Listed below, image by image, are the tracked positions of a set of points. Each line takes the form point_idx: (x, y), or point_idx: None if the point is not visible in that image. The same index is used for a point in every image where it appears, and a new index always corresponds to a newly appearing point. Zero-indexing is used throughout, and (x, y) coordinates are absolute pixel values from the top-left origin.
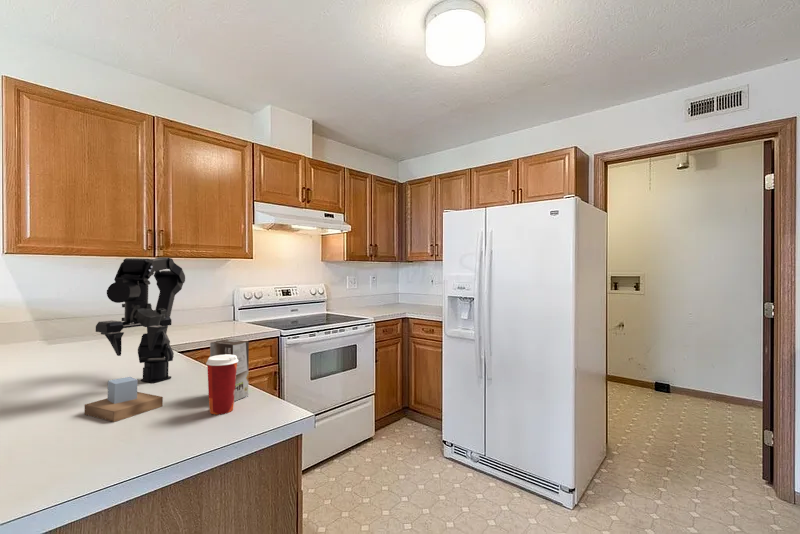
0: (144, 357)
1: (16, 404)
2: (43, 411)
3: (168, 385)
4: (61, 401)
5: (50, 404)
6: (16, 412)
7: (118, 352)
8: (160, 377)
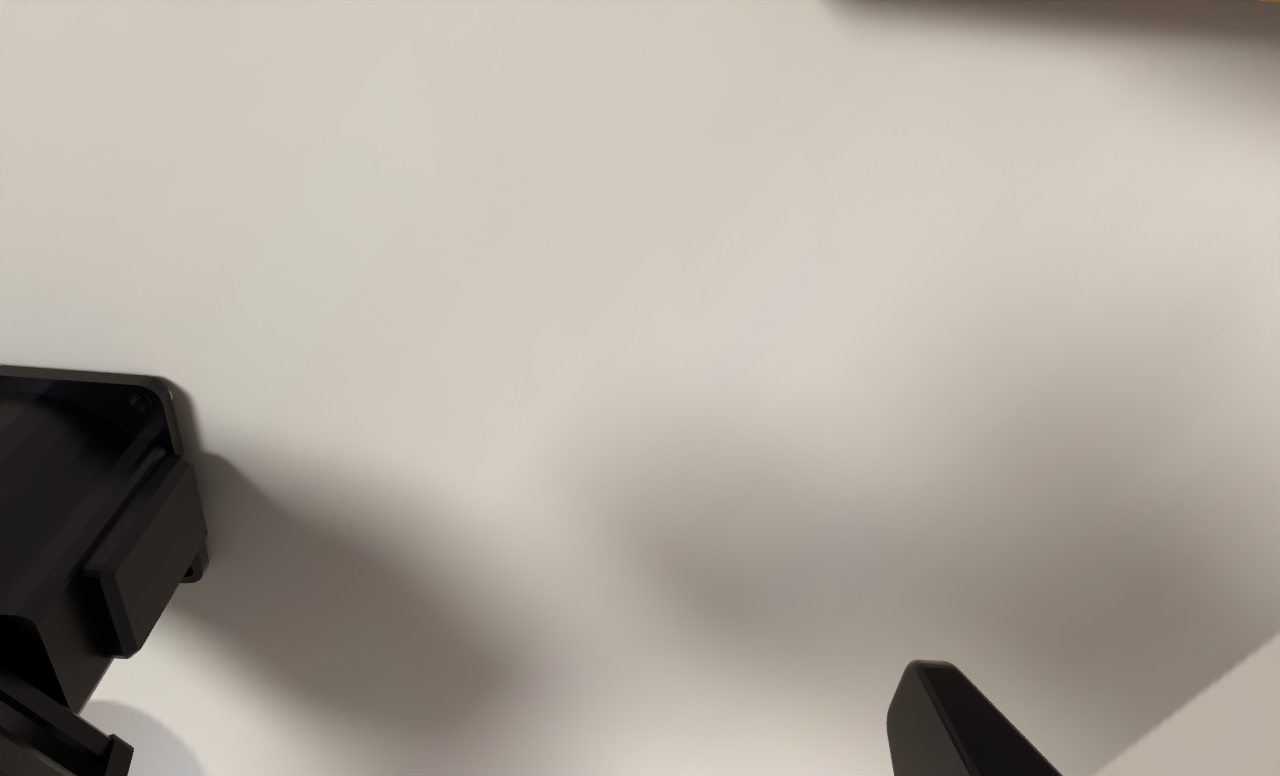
0: (54, 764)
1: (1053, 763)
2: (1222, 483)
3: (74, 102)
4: (953, 597)
5: (1036, 597)
6: (1236, 620)
7: (1026, 745)
8: (25, 409)
